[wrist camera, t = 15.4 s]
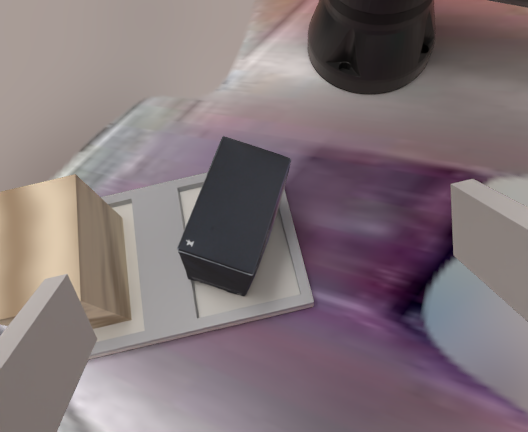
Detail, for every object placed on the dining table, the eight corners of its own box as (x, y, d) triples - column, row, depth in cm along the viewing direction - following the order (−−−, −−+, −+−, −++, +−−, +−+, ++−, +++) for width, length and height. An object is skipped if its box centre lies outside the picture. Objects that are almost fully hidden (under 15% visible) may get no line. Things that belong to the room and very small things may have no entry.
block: (122, 217, 44) (75, 174, 35) (131, 319, 40) (80, 300, 31) (58, 232, 44) (-5, 193, 35) (61, 336, 40) (-11, 322, 31)
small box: (249, 300, 40) (255, 280, 30) (185, 278, 40) (171, 252, 30) (280, 203, 44) (295, 157, 34) (221, 184, 44) (219, 132, 34)
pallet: (276, 167, 47) (275, 156, 44) (313, 306, 41) (314, 302, 38) (44, 222, 47) (30, 213, 44) (45, 369, 41) (29, 368, 38)
